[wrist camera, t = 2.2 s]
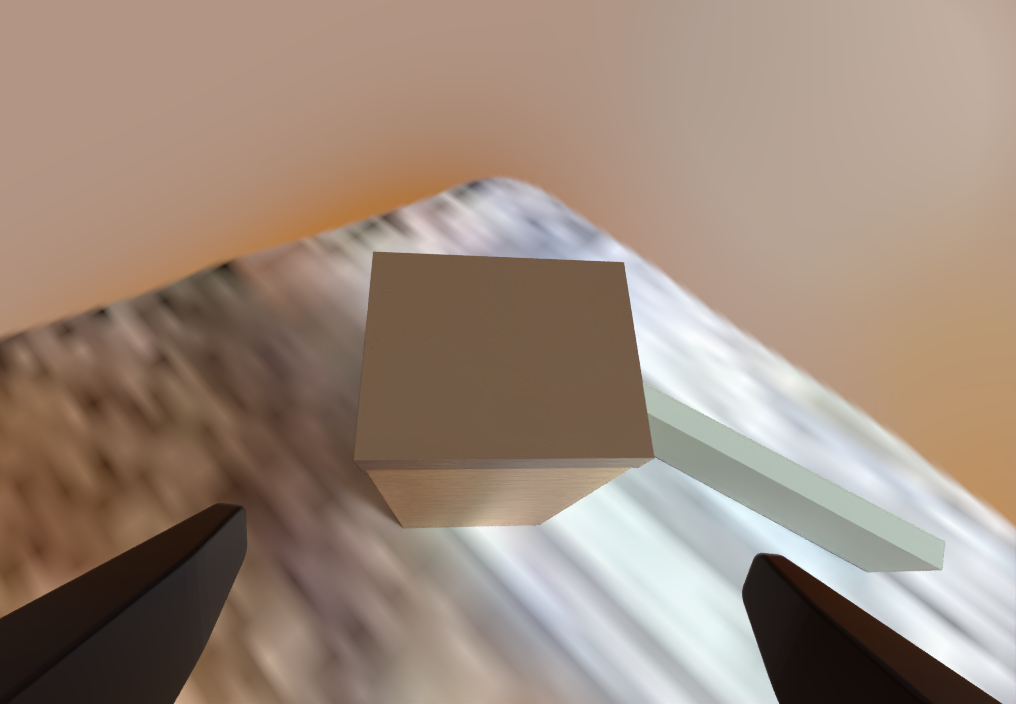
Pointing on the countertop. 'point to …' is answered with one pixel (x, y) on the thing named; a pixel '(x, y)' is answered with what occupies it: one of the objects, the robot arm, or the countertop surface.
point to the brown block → (497, 387)
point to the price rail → (787, 491)
